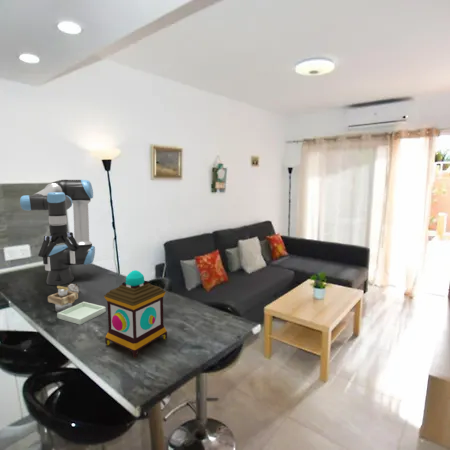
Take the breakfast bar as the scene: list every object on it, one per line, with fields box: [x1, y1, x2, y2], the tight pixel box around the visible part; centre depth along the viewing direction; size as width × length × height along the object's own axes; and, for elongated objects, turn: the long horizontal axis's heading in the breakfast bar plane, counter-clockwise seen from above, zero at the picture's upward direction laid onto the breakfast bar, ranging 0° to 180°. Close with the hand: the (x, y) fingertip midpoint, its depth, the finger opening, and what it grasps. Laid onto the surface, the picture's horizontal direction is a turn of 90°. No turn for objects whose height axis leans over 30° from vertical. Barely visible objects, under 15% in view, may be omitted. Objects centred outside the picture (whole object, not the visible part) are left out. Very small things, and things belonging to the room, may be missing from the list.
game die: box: [65, 282, 82, 294], centre depth 163 cm, size 9×8×10 cm
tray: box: [56, 301, 107, 325], centre depth 143 cm, size 15×15×2 cm
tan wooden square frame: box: [47, 291, 79, 305], centre depth 148 cm, size 10×12×3 cm
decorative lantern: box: [103, 269, 168, 359], centre depth 117 cm, size 20×20×30 cm
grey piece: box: [54, 285, 73, 313], centre depth 148 cm, size 8×8×12 cm
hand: (61, 266), depth 146 cm, fingers open, 13 cm apart
